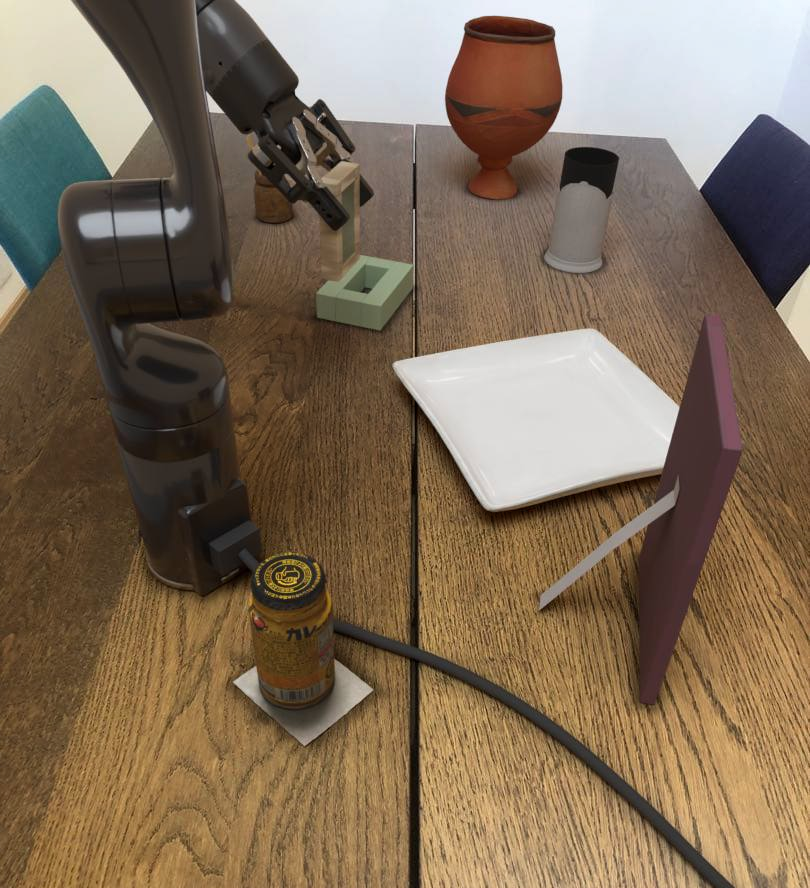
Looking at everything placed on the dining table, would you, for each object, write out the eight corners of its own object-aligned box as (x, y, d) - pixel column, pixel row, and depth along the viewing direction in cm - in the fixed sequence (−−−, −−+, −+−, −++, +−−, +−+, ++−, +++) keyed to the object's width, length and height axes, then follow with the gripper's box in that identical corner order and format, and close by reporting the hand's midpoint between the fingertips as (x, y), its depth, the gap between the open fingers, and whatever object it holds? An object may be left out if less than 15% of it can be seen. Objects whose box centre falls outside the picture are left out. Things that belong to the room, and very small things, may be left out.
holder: (316, 317, 108) (315, 293, 106) (353, 276, 117) (353, 253, 115) (380, 331, 106) (380, 306, 104) (412, 288, 115) (413, 264, 113)
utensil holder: (288, 225, 129) (282, 145, 121) (249, 222, 130) (241, 142, 122) (297, 211, 133) (292, 133, 125) (260, 207, 134) (253, 129, 126)
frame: (321, 278, 85) (317, 181, 79) (342, 255, 90) (341, 160, 83) (338, 282, 85) (336, 184, 78) (359, 258, 89) (359, 163, 82)
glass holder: (538, 266, 121) (554, 161, 111) (557, 230, 131) (573, 130, 121) (597, 277, 120) (619, 170, 109) (611, 239, 129) (632, 139, 119)
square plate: (387, 387, 96) (388, 358, 94) (589, 351, 104) (595, 323, 101) (483, 535, 78) (487, 504, 76) (720, 479, 86) (731, 449, 83)
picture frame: (654, 705, 65) (759, 452, 47) (530, 682, 66) (589, 428, 49) (651, 561, 76) (733, 317, 59) (546, 543, 78) (597, 300, 61)
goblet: (491, 221, 133) (510, 46, 116) (416, 184, 144) (422, 20, 127) (570, 195, 142) (598, 30, 125) (494, 163, 153) (510, 6, 136)
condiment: (302, 633, 69) (293, 528, 60) (373, 691, 65) (374, 587, 56) (233, 683, 65) (213, 578, 57) (304, 748, 61) (294, 645, 52)
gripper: (222, 56, 70) (353, 217, 75) (294, 21, 80) (404, 166, 85) (177, 114, 74) (303, 262, 80) (250, 74, 84) (357, 208, 90)
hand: (355, 212), depth 83 cm, fingers closed on frame, 6 cm apart
